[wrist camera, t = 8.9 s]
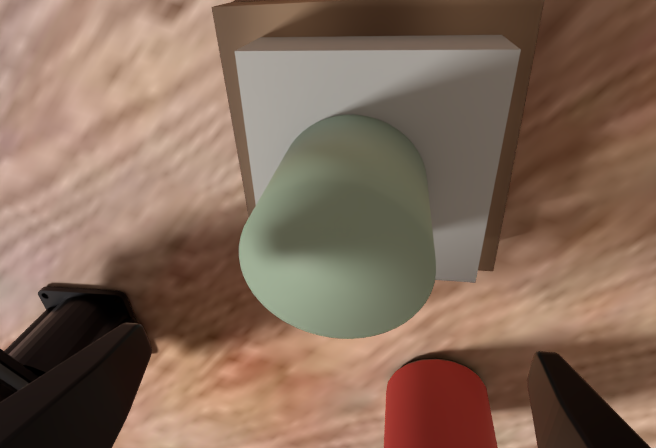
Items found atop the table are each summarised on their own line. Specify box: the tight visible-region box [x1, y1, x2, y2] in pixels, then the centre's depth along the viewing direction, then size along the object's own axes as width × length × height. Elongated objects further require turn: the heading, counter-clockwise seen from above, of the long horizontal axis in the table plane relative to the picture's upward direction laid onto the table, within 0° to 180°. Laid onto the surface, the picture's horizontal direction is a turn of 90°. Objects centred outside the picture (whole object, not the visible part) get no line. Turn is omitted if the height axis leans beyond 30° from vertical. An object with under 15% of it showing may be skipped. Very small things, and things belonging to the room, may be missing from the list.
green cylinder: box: [239, 115, 436, 339], centre depth 14 cm, size 6×6×5 cm
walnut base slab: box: [212, 0, 544, 271], centre depth 20 cm, size 12×12×3 cm
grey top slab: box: [235, 35, 521, 283], centre depth 17 cm, size 9×9×3 cm
